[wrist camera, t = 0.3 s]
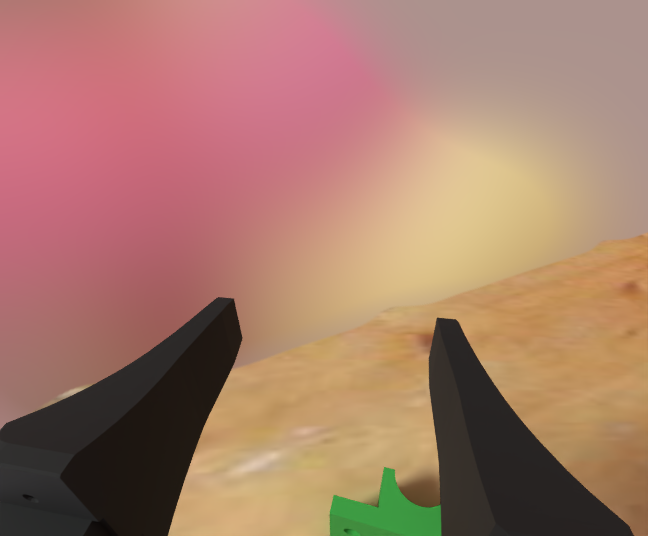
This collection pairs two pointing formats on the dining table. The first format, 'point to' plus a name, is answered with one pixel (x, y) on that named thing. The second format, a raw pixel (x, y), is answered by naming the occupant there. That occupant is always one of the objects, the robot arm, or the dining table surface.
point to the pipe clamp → (384, 514)
